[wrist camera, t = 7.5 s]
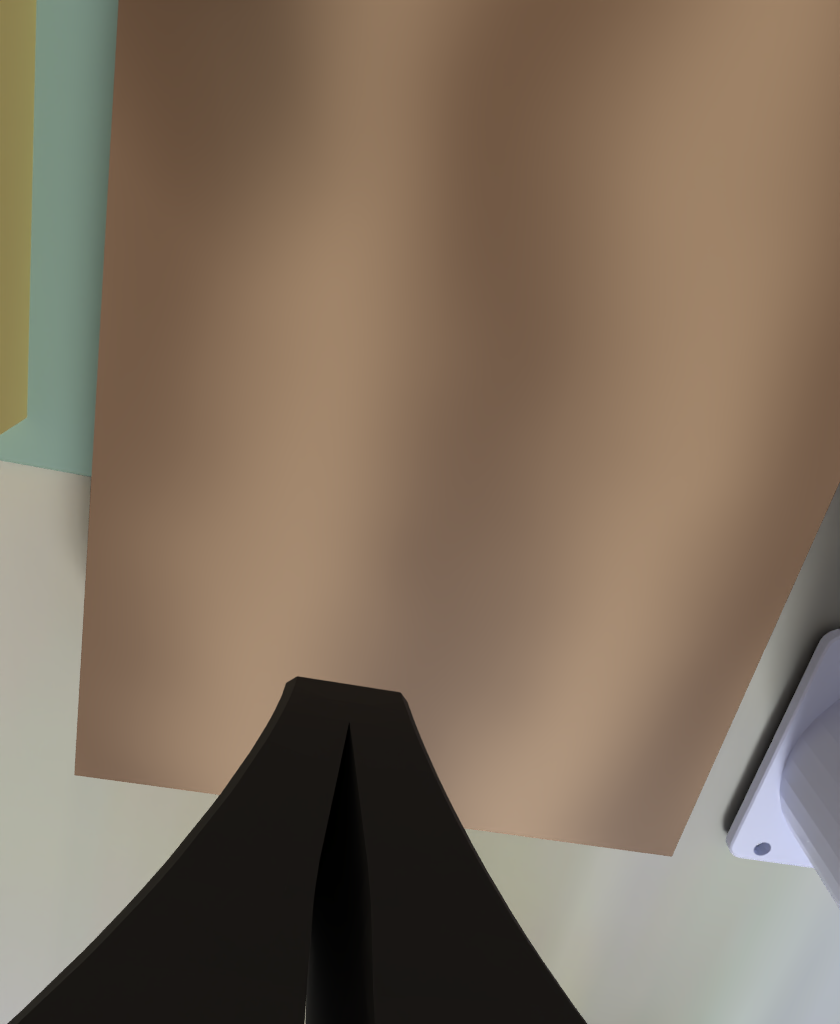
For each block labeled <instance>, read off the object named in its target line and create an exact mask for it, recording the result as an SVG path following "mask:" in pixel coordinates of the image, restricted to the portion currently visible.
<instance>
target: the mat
mask: <svg viewBox="0 0 840 1024" xmlns="http://www.w3.org/2000/svg"><path fill="white" fill-rule="evenodd" d="M117 18H118V0H37V1H36V45H35V89H34V133H33V178H32V222H31V266H30V310H29V354H28V398H27V418H26V419H24V420H22V421H21V422H19V423H18V424H16V425H15V426H13V427H12V428H10V429H8V430H7V431H5V432H4V433H2V434H1V435H0V460H1V461H6V462H12V463H18V464H23V465H29V466H34V467H40V468H45V469H51V470H56V471H62V472H68V473H73V474H79V475H84V476H90V477H91V476H92V458H93V441H94V423H95V405H96V388H97V370H98V353H99V335H100V317H101V300H102V282H103V265H104V247H105V229H106V212H107V194H108V177H109V159H110V141H111V124H112V106H113V89H114V71H115V53H116V36H117Z"/></svg>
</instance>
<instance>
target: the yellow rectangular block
mask: <svg viewBox="0 0 840 1024" xmlns="http://www.w3.org/2000/svg"><path fill="white" fill-rule="evenodd" d="M36 1H37V0H0V435H1V434H2V433H4V432H5V431H7V430H8V429H10V428H12V427H13V426H15V425H16V424H18V423H19V422H21V421H22V420H24V419H26V418H27V398H28V354H29V310H30V266H31V222H32V178H33V133H34V89H35V45H36Z"/></svg>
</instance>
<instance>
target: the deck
mask: <svg viewBox="0 0 840 1024" xmlns="http://www.w3.org/2000/svg"><path fill="white" fill-rule="evenodd" d="M839 483H840V0H118V18H117V36H116V53H115V71H114V89H113V106H112V124H111V141H110V159H109V177H108V194H107V212H106V229H105V247H104V265H103V282H102V300H101V317H100V335H99V353H98V370H97V388H96V405H95V423H94V441H93V458H92V476H91V493H90V511H89V529H88V546H87V564H86V581H85V599H84V617H83V634H82V652H81V669H80V687H79V705H78V722H77V740H76V757H75V775H78V776H85V777H93V778H100V779H107V780H115V781H122V782H129V783H137V784H144V785H151V786H159V787H166V788H173V789H181V790H188V791H195V792H203V793H210V794H217V795H220V794H221V793H222V791H223V790H224V788H225V787H226V785H227V784H228V783H229V781H230V780H231V778H232V777H233V775H234V774H235V773H236V771H237V770H238V768H239V767H240V765H241V764H242V763H243V761H244V760H245V758H246V757H247V755H248V754H249V753H250V751H251V750H252V748H253V746H254V745H255V743H256V742H257V740H258V738H259V737H260V735H261V733H262V732H263V730H264V729H265V727H266V725H267V723H268V722H269V720H270V718H271V716H272V714H273V713H274V711H275V709H276V707H277V704H278V702H279V700H280V698H281V696H282V693H283V690H284V687H285V684H286V683H287V682H288V681H290V680H292V679H293V678H295V677H297V676H300V677H306V678H312V679H319V680H325V681H332V682H338V683H344V684H351V685H357V686H364V687H370V688H377V689H383V690H389V691H396V692H401V693H402V695H403V696H404V698H405V699H406V700H407V702H408V705H409V707H410V710H411V713H412V716H413V718H414V721H415V724H416V726H417V729H418V731H419V734H420V736H421V739H422V741H423V743H424V746H425V748H426V750H427V753H428V755H429V757H430V759H431V762H432V764H433V766H434V768H435V771H436V773H437V775H438V777H439V779H440V782H441V784H442V786H443V788H444V790H445V792H446V794H447V796H448V798H449V800H450V802H451V804H452V806H453V808H454V810H455V812H456V814H457V816H458V818H459V820H460V822H461V823H462V825H463V827H464V828H466V829H474V830H481V831H488V832H496V833H503V834H510V835H518V836H525V837H532V838H540V839H547V840H554V841H562V842H569V843H576V844H584V845H591V846H598V847H606V848H613V849H620V850H628V851H635V852H642V853H650V854H657V855H664V856H672V855H673V853H674V850H675V848H676V846H677V844H678V842H679V839H680V837H681V835H682V833H683V830H684V828H685V826H686V824H687V821H688V819H689V817H690V815H691V813H692V810H693V808H694V806H695V804H696V801H697V799H698V797H699V795H700V793H701V790H702V788H703V786H704V784H705V781H706V779H707V777H708V775H709V772H710V770H711V768H712V766H713V764H714V761H715V759H716V757H717V755H718V752H719V750H720V748H721V746H722V743H723V741H724V739H725V737H726V735H727V732H728V730H729V728H730V726H731V723H732V721H733V719H734V717H735V714H736V712H737V710H738V708H739V706H740V703H741V701H742V699H743V697H744V694H745V692H746V690H747V688H748V685H749V683H750V681H751V679H752V677H753V674H754V672H755V670H756V668H757V665H758V663H759V661H760V659H761V657H762V654H763V652H764V650H765V648H766V645H767V643H768V641H769V639H770V636H771V634H772V632H773V630H774V628H775V625H776V623H777V621H778V619H779V616H780V614H781V612H782V610H783V607H784V605H785V603H786V601H787V599H788V596H789V594H790V592H791V590H792V587H793V585H794V583H795V581H796V578H797V576H798V574H799V572H800V570H801V567H802V565H803V563H804V561H805V558H806V556H807V554H808V552H809V550H810V547H811V545H812V543H813V541H814V538H815V536H816V534H817V532H818V529H819V527H820V525H821V523H822V521H823V518H824V516H825V514H826V512H827V509H828V507H829V505H830V503H831V500H832V498H833V496H834V494H835V492H836V489H837V487H838V485H839Z"/></svg>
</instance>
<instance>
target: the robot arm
mask: <svg viewBox="0 0 840 1024" xmlns="http://www.w3.org/2000/svg"><path fill="white" fill-rule="evenodd" d="M726 843H727V846H728V848H729V850H730V852H731V853H732V854H733V855H734V856H736V857H739V858H745V859H752V860H759V861H766V862H774V863H781V864H788V865H796V866H803V867H810V868H814V869H815V870H816V872H817V874H818V875H819V877H820V878H821V880H822V882H823V883H824V885H825V886H826V888H827V890H828V891H829V893H830V894H831V896H832V898H833V899H834V901H835V902H836V904H837V906H838V907H839V909H840V629H835V630H833V631H830V632H828V633H827V634H826V635H824V636H823V637H822V639H821V640H820V642H819V644H818V646H817V648H816V650H815V652H814V654H813V656H812V658H811V660H810V662H809V665H808V667H807V669H806V671H805V673H804V675H803V677H802V679H801V681H800V683H799V685H798V688H797V690H796V692H795V694H794V696H793V698H792V700H791V702H790V704H789V706H788V709H787V711H786V713H785V715H784V717H783V719H782V721H781V723H780V725H779V727H778V729H777V732H776V734H775V736H774V738H773V740H772V742H771V744H770V746H769V748H768V750H767V752H766V755H765V757H764V759H763V761H762V763H761V765H760V767H759V769H758V771H757V773H756V775H755V778H754V780H753V782H752V784H751V786H750V788H749V790H748V792H747V794H746V796H745V799H744V801H743V803H742V805H741V807H740V809H739V811H738V813H737V815H736V817H735V819H734V822H733V824H732V826H731V828H730V830H729V832H728V834H727V837H726ZM759 843H761V844H759ZM757 844H759V845H757ZM305 1006H306V1024H587V1023H586V1021H585V1020H584V1019H583V1017H582V1016H581V1015H580V1013H579V1012H578V1011H577V1009H576V1008H575V1007H574V1005H573V1004H572V1002H571V1001H570V999H569V998H568V997H567V995H566V994H565V992H564V991H563V989H562V988H561V987H560V985H559V984H558V982H557V981H556V979H555V978H554V976H553V975H552V974H551V972H550V971H549V969H548V968H547V966H546V965H545V963H544V962H543V961H542V959H541V958H540V956H539V955H538V953H537V951H536V950H535V948H534V947H533V945H532V944H531V942H530V941H529V939H528V938H527V936H526V935H525V933H524V931H523V930H522V928H521V927H520V925H519V923H518V922H517V920H516V919H515V917H514V915H513V914H512V912H511V911H510V909H509V907H508V906H507V904H506V902H505V901H504V899H503V897H502V895H501V894H500V892H499V890H498V889H497V887H496V885H495V884H494V882H493V880H492V879H491V877H490V875H489V873H488V872H487V870H486V868H485V866H484V865H483V863H482V861H481V859H480V857H479V856H478V854H477V852H476V850H475V848H474V847H473V845H472V843H471V841H470V839H469V837H468V835H467V833H466V831H465V829H464V827H463V825H462V823H461V822H460V820H459V818H458V816H457V814H456V812H455V810H454V808H453V806H452V804H451V802H450V800H449V798H448V796H447V794H446V792H445V790H444V788H443V786H442V784H441V782H440V779H439V777H438V775H437V773H436V771H435V768H434V766H433V764H432V762H431V759H430V757H429V755H428V753H427V750H426V748H425V746H424V743H423V741H422V739H421V736H420V734H419V731H418V729H417V726H416V724H415V721H414V718H413V716H412V713H411V710H410V707H409V705H408V702H407V700H406V699H405V698H404V696H403V695H402V693H401V692H396V691H389V690H383V689H377V688H370V687H364V686H357V685H351V684H344V683H338V682H332V681H325V680H319V679H312V678H306V677H300V676H297V677H295V678H293V679H292V680H290V681H288V682H287V683H286V684H285V687H284V690H283V693H282V696H281V698H280V700H279V702H278V704H277V707H276V709H275V711H274V713H273V714H272V716H271V718H270V720H269V722H268V723H267V725H266V727H265V729H264V730H263V732H262V733H261V735H260V737H259V738H258V740H257V742H256V743H255V745H254V746H253V748H252V750H251V751H250V753H249V754H248V755H247V757H246V758H245V760H244V761H243V763H242V764H241V765H240V767H239V768H238V770H237V771H236V773H235V774H234V775H233V777H232V778H231V780H230V781H229V783H228V784H227V785H226V787H225V788H224V790H223V791H222V793H221V794H220V795H219V797H218V798H217V799H216V801H215V802H214V803H213V805H212V806H211V807H210V808H209V810H208V811H207V812H206V813H205V815H204V816H203V817H202V818H201V820H200V821H199V822H198V823H197V825H196V826H195V827H194V828H193V829H192V831H191V832H190V833H189V834H188V836H187V837H186V838H185V839H184V841H183V842H182V843H181V844H180V846H179V847H178V848H177V849H176V850H175V852H174V853H173V854H172V855H171V857H170V858H169V859H168V860H167V861H166V863H165V864H164V865H163V866H162V867H161V868H160V869H159V871H158V872H157V873H156V874H155V875H154V876H153V877H152V879H151V880H150V881H149V882H148V883H147V884H146V885H145V886H144V888H143V889H142V890H141V891H140V892H139V893H138V894H137V895H136V896H135V897H134V899H133V900H132V901H131V902H130V903H129V904H128V905H127V906H126V907H125V908H124V909H123V910H122V911H121V913H120V914H119V915H118V916H117V917H116V918H115V919H114V920H113V921H112V922H111V923H110V924H109V925H108V926H107V927H106V928H105V929H104V930H103V931H102V932H101V933H100V935H99V936H98V937H97V938H96V939H95V940H94V941H93V942H92V943H91V944H90V945H89V946H88V947H87V948H86V949H85V950H84V951H83V952H82V953H81V954H80V955H79V956H78V957H77V958H76V959H75V960H74V961H73V962H71V963H70V964H69V965H68V966H67V967H66V968H65V969H64V970H63V971H62V972H61V973H60V974H59V975H58V976H57V977H56V978H55V979H54V980H53V981H52V982H51V983H50V984H49V985H48V986H47V987H46V988H45V989H44V990H43V991H42V992H41V993H39V994H38V995H37V996H36V997H35V998H34V999H33V1000H32V1001H31V1002H30V1003H29V1004H28V1005H27V1006H26V1007H25V1008H24V1009H23V1010H22V1011H21V1012H20V1013H19V1014H18V1015H16V1016H15V1017H14V1018H13V1019H12V1020H11V1021H10V1022H9V1023H8V1024H304V1021H305Z"/></svg>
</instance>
